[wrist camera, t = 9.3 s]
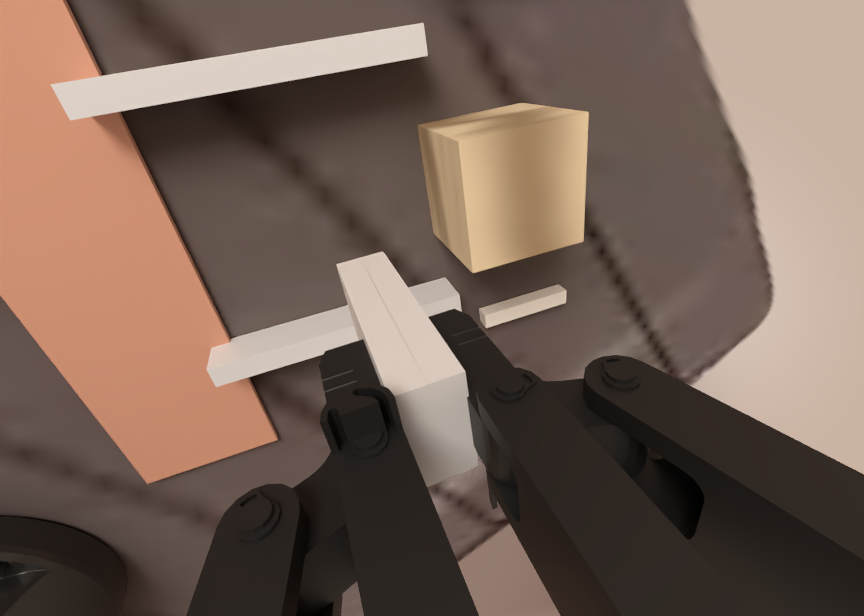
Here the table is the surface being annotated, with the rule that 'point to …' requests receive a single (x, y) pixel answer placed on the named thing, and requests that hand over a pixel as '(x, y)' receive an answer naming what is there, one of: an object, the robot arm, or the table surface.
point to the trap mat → (106, 263)
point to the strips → (522, 305)
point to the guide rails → (247, 72)
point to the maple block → (506, 182)
